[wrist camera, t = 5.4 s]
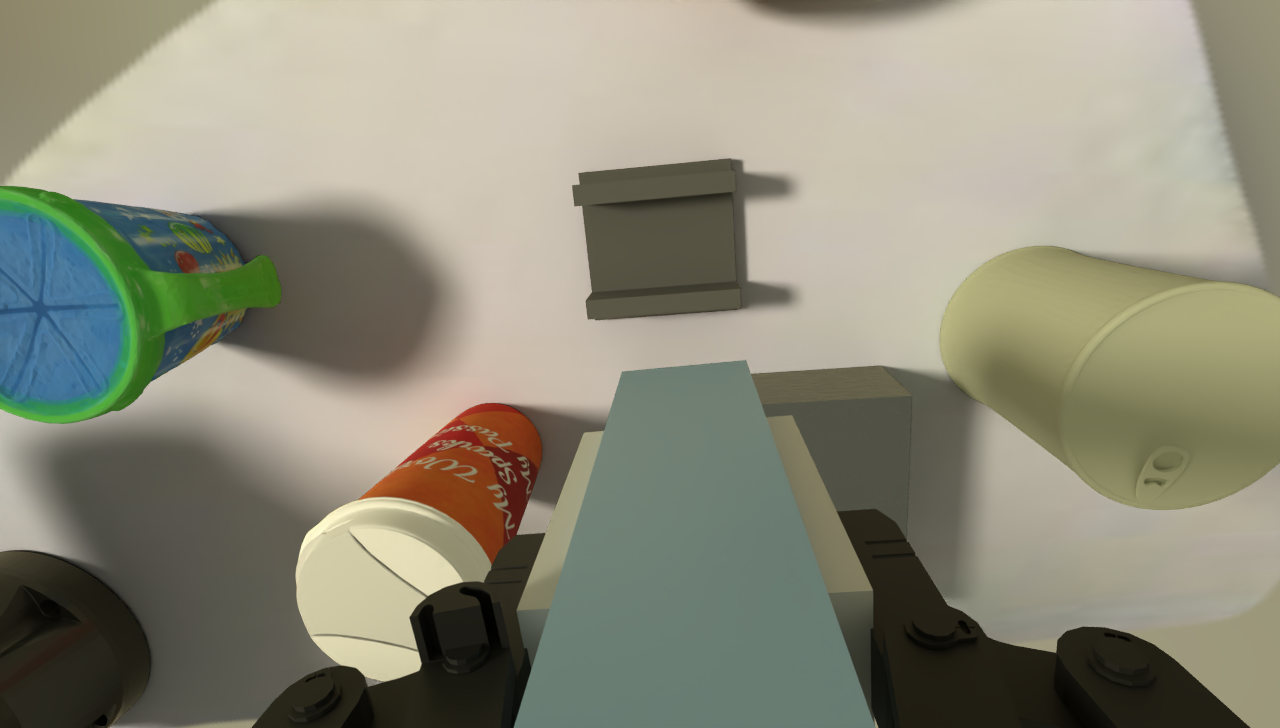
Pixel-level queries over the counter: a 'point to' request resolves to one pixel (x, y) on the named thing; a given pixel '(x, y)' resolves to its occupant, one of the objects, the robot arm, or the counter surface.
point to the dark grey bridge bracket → (660, 239)
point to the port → (849, 432)
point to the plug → (691, 576)
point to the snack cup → (110, 300)
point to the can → (1124, 371)
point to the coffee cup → (416, 538)
